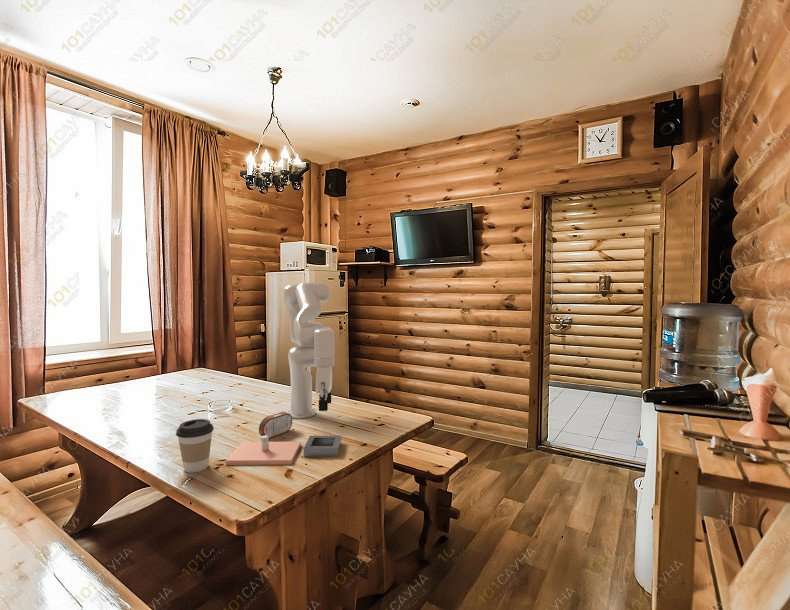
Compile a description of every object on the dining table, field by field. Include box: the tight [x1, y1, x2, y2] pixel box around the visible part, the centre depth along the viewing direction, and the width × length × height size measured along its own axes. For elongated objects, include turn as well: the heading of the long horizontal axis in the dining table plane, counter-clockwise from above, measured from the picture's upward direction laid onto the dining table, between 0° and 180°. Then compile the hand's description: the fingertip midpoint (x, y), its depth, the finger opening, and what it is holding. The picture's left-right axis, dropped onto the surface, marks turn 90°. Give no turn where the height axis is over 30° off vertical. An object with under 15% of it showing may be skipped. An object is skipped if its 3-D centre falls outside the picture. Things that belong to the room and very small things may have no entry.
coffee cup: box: [175, 418, 215, 473], centre depth 138 cm, size 11×11×15 cm
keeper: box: [225, 436, 302, 466], centre depth 149 cm, size 16×22×7 cm
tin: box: [258, 411, 293, 439], centre depth 168 cm, size 15×3×8 cm, turn 144°
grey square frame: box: [303, 435, 343, 458], centre depth 154 cm, size 12×12×3 cm
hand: (325, 406), depth 157 cm, fingers open, 9 cm apart
